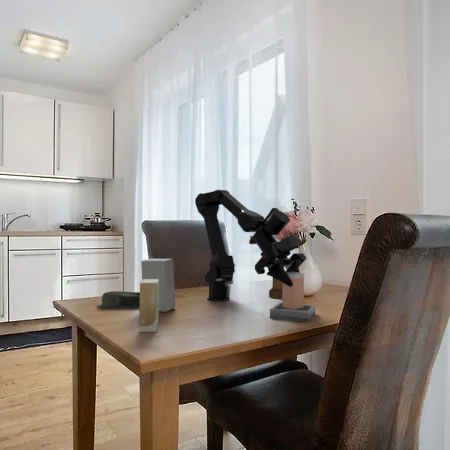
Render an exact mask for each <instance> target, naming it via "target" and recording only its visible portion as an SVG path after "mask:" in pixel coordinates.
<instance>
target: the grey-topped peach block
mask: <svg viewBox="0 0 450 450" xmlns="http://www.w3.org/2000/svg"><path fill="white" fill-rule="evenodd" d="M286 273H287V274H288V276H289V278H290V279H291V281H292V283H293V286H292V287H289V286H288V285H286V284H284V283H283V288H282V298H281V303H282V307H285V308H290V309H298V308H303V307H304V305H305V304H304V302H305V301H304V299H305V297H304V295H305V294H304V293H305V273H303V272H300V273H298V272H286Z"/></svg>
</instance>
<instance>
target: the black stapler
mask: <svg viewBox="0 0 450 450" xmlns="http://www.w3.org/2000/svg"><path fill="white" fill-rule="evenodd" d="M101 296H102V297H101V304H97V305H96V307H97V308H140V291H121V290H120V291H119V290H115V291H106V292H104V293H103V294H102V295H101Z"/></svg>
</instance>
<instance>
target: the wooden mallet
mask: <svg viewBox="0 0 450 450" xmlns="http://www.w3.org/2000/svg"><path fill="white" fill-rule="evenodd" d="M282 288H283V283H282V282H281V281H279V280H277V279H275V278H273V277H272V287H271V288H270V289H269V291H268V297H269V298H271V299H272V298H273V299H282Z"/></svg>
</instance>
